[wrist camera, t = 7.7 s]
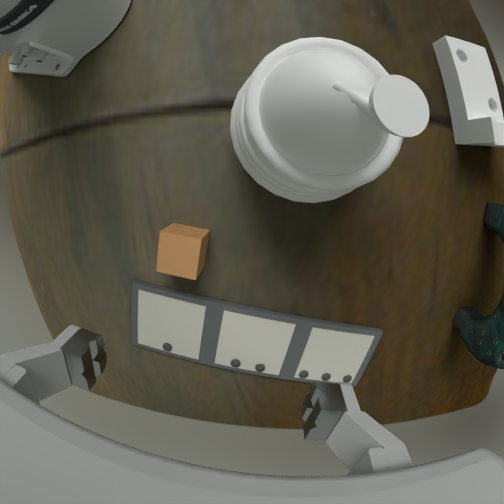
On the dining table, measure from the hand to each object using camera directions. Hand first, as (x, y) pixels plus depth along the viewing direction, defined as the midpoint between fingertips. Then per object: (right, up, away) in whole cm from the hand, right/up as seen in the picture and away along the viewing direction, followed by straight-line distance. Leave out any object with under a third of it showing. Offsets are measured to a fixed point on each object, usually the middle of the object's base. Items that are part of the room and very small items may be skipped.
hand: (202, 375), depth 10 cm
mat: (+2, -6, +23) cm, 23 cm away
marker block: (-5, +5, +20) cm, 21 cm away
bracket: (+28, +24, +13) cm, 39 cm away
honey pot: (+7, +16, +16) cm, 24 cm away
